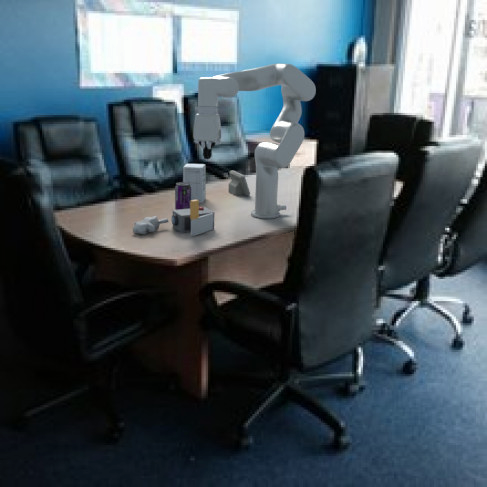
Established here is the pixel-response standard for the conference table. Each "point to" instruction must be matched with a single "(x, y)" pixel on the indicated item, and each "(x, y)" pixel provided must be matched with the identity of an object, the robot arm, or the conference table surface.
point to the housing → (186, 218)
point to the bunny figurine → (148, 225)
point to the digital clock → (238, 184)
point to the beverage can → (182, 195)
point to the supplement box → (196, 180)
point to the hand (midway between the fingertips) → (207, 158)
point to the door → (200, 219)
